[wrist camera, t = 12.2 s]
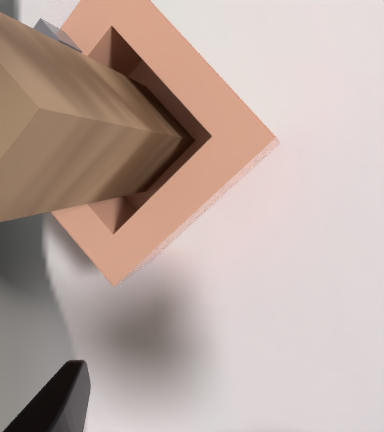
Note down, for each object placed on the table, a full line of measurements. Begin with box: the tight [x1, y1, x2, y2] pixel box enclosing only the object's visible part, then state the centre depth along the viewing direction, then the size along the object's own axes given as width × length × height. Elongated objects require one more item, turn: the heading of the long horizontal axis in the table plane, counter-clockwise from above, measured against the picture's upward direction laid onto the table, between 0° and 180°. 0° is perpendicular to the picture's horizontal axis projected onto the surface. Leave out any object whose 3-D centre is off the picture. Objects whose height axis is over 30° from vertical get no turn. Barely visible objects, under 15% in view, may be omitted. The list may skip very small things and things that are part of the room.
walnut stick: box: [0, 12, 195, 222], centre depth 14 cm, size 4×4×12 cm
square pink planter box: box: [33, 0, 280, 287], centre depth 17 cm, size 10×10×6 cm
